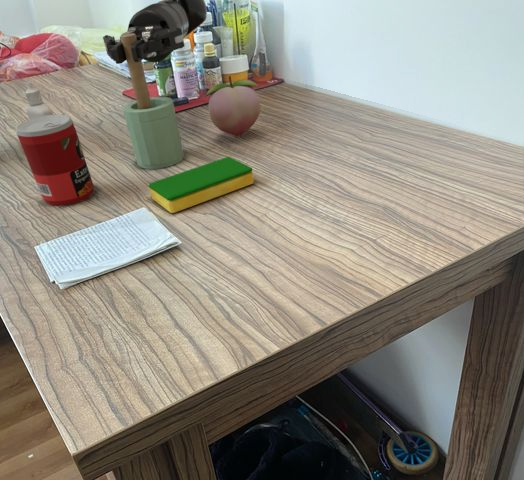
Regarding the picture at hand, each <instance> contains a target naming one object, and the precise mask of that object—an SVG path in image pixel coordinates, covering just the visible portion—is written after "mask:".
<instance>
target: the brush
mask: <svg viewBox="0 0 524 480" xmlns="http://www.w3.org/2000/svg"><path fill="white" fill-rule="evenodd" d="M121 35H122V34H121ZM121 35H120V36H121ZM121 40H122V44H123V49H124V53H125V57H126V61H125V62H126V64H127V65H126V66H127V69H128V73H129V77H130V79H131V80H130V81H131V85H132V90H133V93H134V97H135V101H137V105H138V109H139V110H142V109H150V108H152V104H151V100H150V97H151V96H150V91H149V86H148V82H147V78H146V74H145V69H144V66H143V65H144V64H143V61H142V60H141V61H140V62H134V59H133V55H132V51H131V45H132V44H134V43H135V42H136V41H137V39H136V34H133V33H132V34H125V35H122V36H121Z"/></svg>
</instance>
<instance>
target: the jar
mask: <svg viewBox="0 0 524 480" xmlns="http://www.w3.org/2000/svg"><path fill="white" fill-rule="evenodd" d="M150 100H151V104H152V108H150V109H142V110H139V109H138V105H137V101H136V100H134V101H130V102H128V103H126V104H125V105H124V106H122V112H123V115H124V119H125V123H126V127H127V131H128V135H129V139H130V142H131V145H132V149H133V153H134V154H133V155H134V157H135V161H136V164H137V166H138V167H139V168H141V169H146V170H158V169H163V168H168V167H171V166H173V165H177V164H179V163H180V162H182V160H183V159H184V156H185V155H184V148H183V144H182V138H181V133H180V130H179V124H178V120H177V114H176V109H175V104H174V100H173V98H171V97H167V96H152V97H151V96H150Z"/></svg>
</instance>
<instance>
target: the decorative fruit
mask: <svg viewBox="0 0 524 480" xmlns="http://www.w3.org/2000/svg"><path fill="white" fill-rule="evenodd" d="M228 81H229V82H226V83H218V84H214V85H213V86H212V87H211V88H209V89H208V90H207V92H206V93H205V95H204V98H207V97H208V96H209V100H208V113H209V117H210V120H211V122H212V123H213V125H214V127H216V128H217V129H218V130H220V131H221V132H223V133H225V134H228V135H231V136H234V137H240V136H242V135H243V134H245V133H246V132H247V131H249V129H251V128H252V127H253V126H254V124H255V123H256V122H257V120H258V118H259V117H260V113H261V101H260V97H259V95H258V93H257V91H256V90H255V88H253V87H256V88H260V86H259V85H258V83H256V82H254V81H252V80H250V79H246V78H245V79H238V80H235V81H232V77H231V75H229V76H228Z"/></svg>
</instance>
